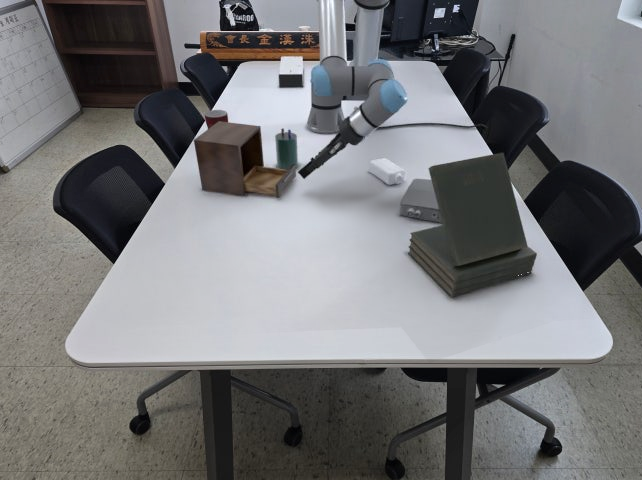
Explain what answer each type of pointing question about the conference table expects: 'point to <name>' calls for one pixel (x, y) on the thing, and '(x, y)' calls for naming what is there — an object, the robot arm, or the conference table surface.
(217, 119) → the mug
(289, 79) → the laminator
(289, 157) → the pen pot
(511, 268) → the stack of books
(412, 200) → the electronic device
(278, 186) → the drawer
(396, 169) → the white bottle
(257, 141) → the open wooden box
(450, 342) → the conference table surface
